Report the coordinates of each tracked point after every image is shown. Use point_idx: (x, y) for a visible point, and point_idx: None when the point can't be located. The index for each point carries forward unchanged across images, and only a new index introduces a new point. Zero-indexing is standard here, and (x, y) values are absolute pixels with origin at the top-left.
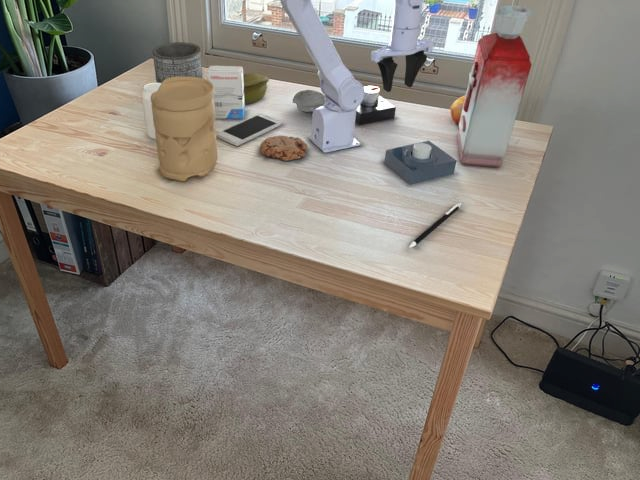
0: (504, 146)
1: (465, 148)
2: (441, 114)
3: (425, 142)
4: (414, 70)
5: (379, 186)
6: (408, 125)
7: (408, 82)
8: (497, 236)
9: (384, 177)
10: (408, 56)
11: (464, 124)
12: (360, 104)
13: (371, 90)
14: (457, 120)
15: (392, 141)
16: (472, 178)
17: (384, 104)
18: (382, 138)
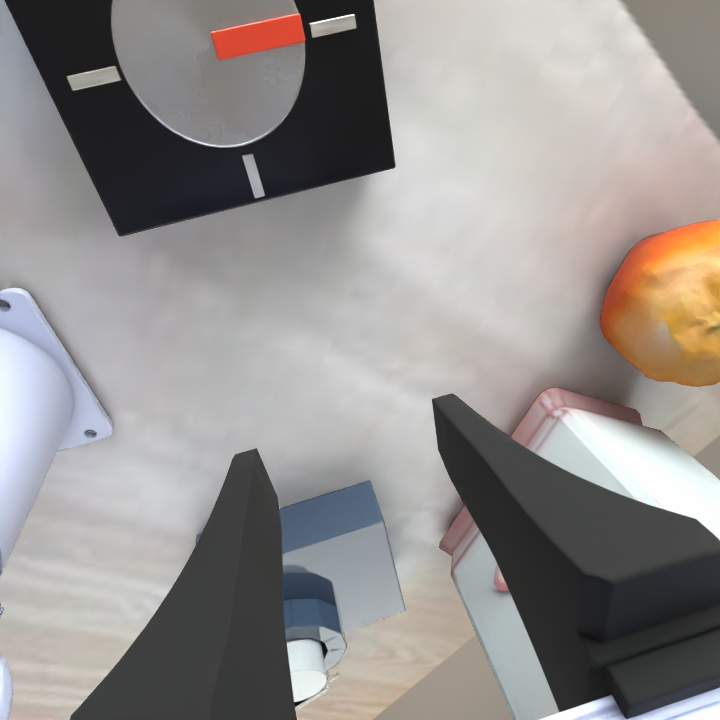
0: None
1: (458, 590)
2: (630, 153)
3: (364, 533)
4: (506, 580)
5: None
6: (411, 254)
7: (447, 456)
8: (360, 715)
9: None
10: (565, 604)
11: None
12: None
13: (215, 81)
14: (604, 334)
15: (277, 396)
16: (428, 581)
17: (332, 107)
18: (238, 368)
